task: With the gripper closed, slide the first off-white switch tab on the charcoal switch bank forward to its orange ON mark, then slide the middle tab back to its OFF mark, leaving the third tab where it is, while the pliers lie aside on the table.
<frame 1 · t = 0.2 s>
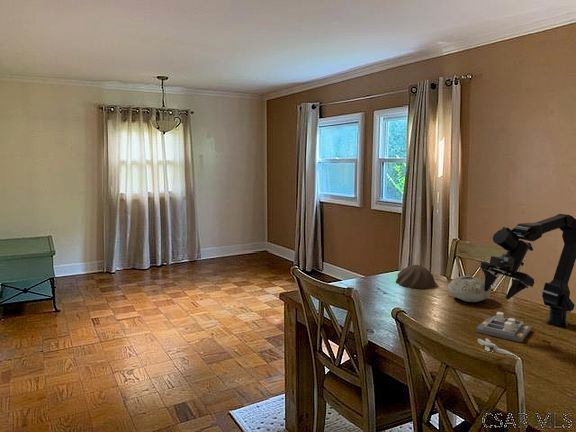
hand: (495, 295, 154), 15 cm above the table, tool tilted 30°, fingers open, 9 cm apart
grey rounded stone: (468, 300, 197), on the table
tab b: (511, 324, 158), point 3 cm above the table, slide at 5.0 cm
pliers: (493, 352, 143), on the table
tab c: (508, 327, 154), point 3 cm above the table, slide at 5.0 cm
switch bank: (503, 331, 160), on the table
tab a: (499, 317, 164), point 3 cm above the table, slide at 0.0 cm
decorative dome: (415, 284, 224), on the table
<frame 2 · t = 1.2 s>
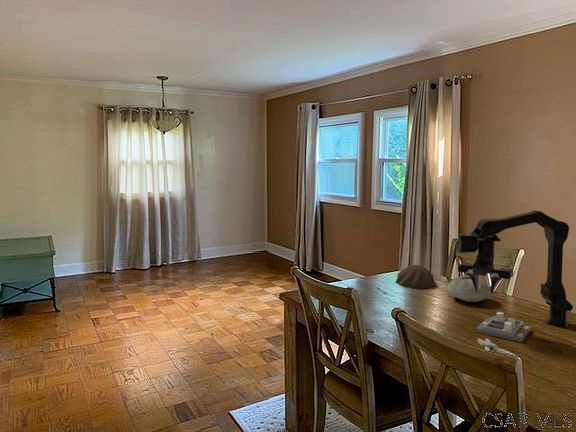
hand: (484, 292, 167), 12 cm above the table, tool pointing down, fingers open, 5 cm apart
nothing on the table moved.
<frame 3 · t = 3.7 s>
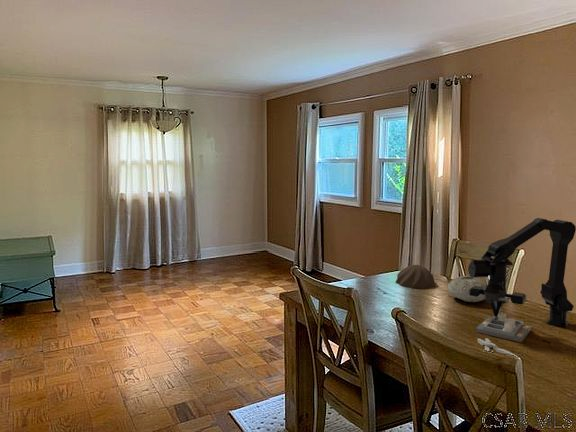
hand: (496, 316, 165), 3 cm above the table, tool pointing down, fingers closed
tab a: (502, 318, 164), point 3 cm above the table, slide at 0.8 cm, touching gripper
everything else where it was.
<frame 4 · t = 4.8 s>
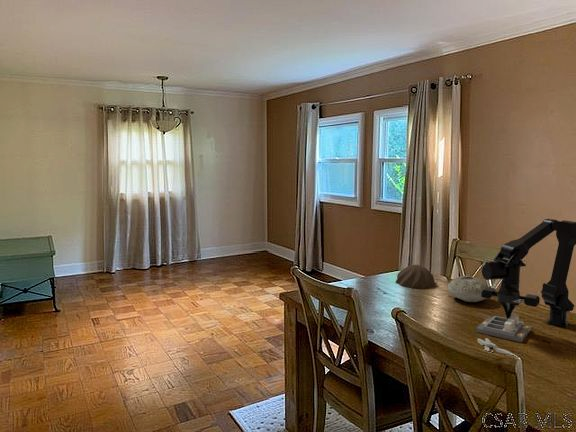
hand: (508, 318, 162), 3 cm above the table, tool pointing down, fingers closed
tab a: (514, 320, 161), point 3 cm above the table, slide at 5.1 cm, touching gripper
everything else where it was.
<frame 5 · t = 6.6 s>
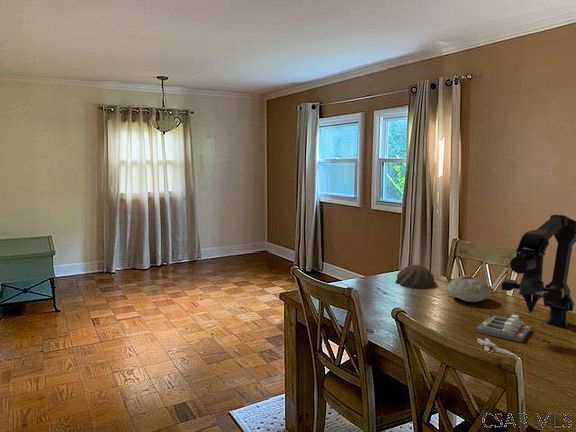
hand: (530, 312, 153), 9 cm above the table, tool pointing down, fingers closed
tab a: (514, 320, 161), point 3 cm above the table, slide at 5.1 cm
everything else where it was.
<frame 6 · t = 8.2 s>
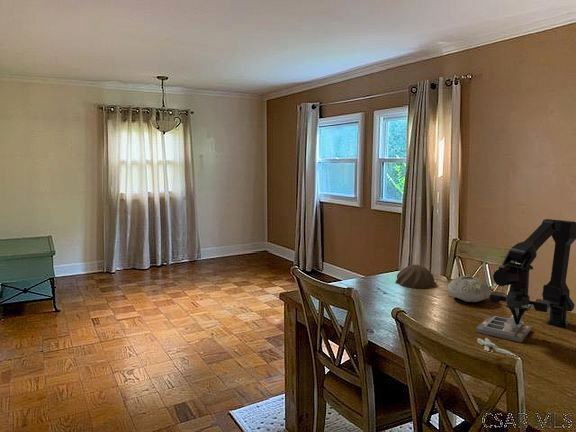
hand: (517, 324, 156), 4 cm above the table, tool pointing down, fingers closed
tab b: (511, 323, 158), point 3 cm above the table, slide at 4.9 cm, touching gripper
everything else where it was.
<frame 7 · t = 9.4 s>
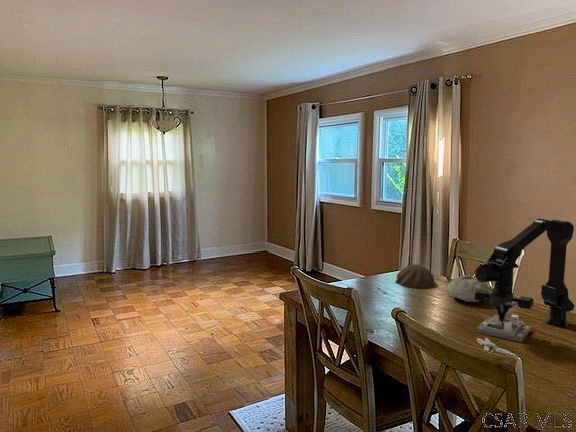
hand: (502, 321, 160), 4 cm above the table, tool pointing down, fingers closed
tab b: (496, 320, 161), point 3 cm above the table, slide at -0.1 cm, touching gripper
everything else where it was.
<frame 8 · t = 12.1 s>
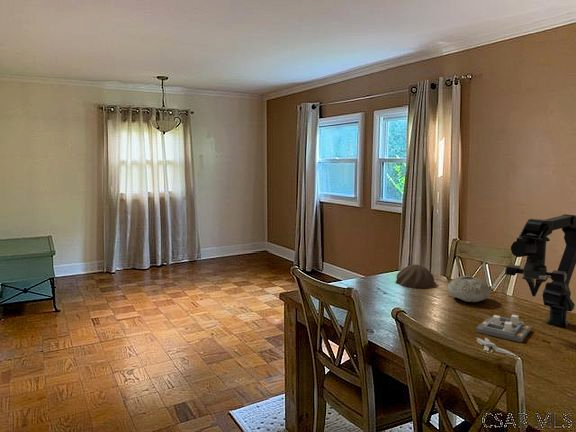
hand: (533, 296, 158), 13 cm above the table, tool pointing down, fingers closed
tab b: (496, 320, 161), point 3 cm above the table, slide at -0.1 cm
everything else where it was.
at the end: tab a slide at 5.1 cm; tab b slide at -0.1 cm; tab c slide at 5.0 cm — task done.
